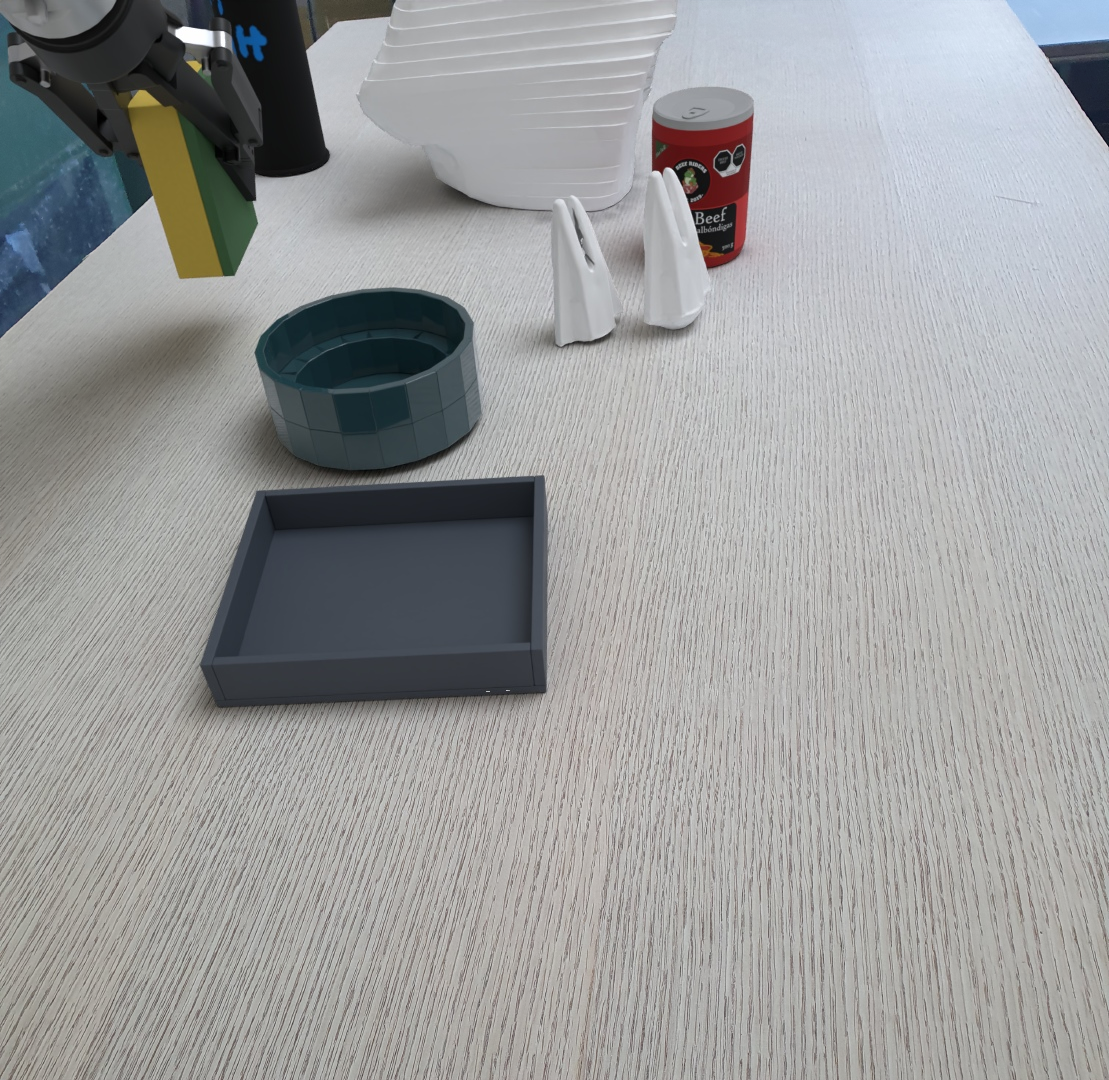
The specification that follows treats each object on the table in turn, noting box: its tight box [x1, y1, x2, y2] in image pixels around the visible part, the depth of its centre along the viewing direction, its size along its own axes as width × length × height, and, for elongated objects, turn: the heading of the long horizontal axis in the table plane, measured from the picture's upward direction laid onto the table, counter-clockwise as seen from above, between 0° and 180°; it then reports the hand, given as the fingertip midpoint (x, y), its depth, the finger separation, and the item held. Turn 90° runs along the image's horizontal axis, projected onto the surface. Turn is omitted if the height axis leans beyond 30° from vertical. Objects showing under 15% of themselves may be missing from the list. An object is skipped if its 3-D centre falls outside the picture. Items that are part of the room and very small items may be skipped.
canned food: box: [651, 86, 755, 269], centre depth 86 cm, size 8×8×11 cm
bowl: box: [254, 286, 484, 471], centre depth 72 cm, size 14×14×6 cm
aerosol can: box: [209, 0, 331, 177], centre depth 103 cm, size 8×8×20 cm
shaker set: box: [550, 168, 713, 348], centre depth 77 cm, size 12×4×11 cm, turn 93°
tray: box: [199, 474, 549, 708], centre depth 60 cm, size 17×15×3 cm
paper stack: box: [355, 0, 678, 212], centre depth 94 cm, size 21×27×26 cm
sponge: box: [128, 60, 259, 280], centre depth 75 cm, size 4×9×11 cm, turn 0°
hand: (218, 183), depth 79 cm, fingers closed on sponge, 4 cm apart
